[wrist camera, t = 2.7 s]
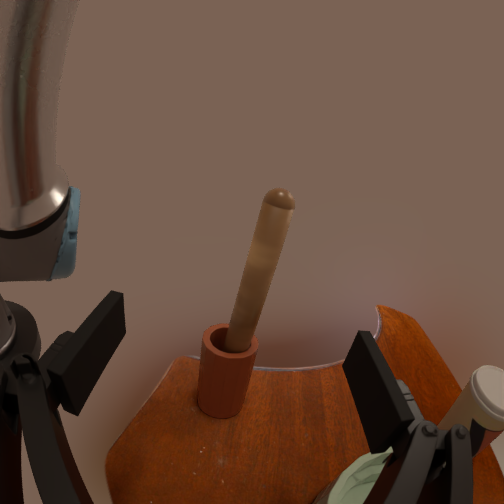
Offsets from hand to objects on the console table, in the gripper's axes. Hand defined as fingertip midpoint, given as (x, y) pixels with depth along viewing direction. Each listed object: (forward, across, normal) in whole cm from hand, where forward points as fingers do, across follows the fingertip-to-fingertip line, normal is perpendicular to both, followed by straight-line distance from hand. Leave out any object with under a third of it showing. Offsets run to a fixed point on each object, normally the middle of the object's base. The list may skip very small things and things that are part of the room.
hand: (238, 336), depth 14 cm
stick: (+10, 0, -17) cm, 19 cm away
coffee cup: (0, +30, -18) cm, 35 cm away
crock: (+10, 0, -18) cm, 20 cm away
